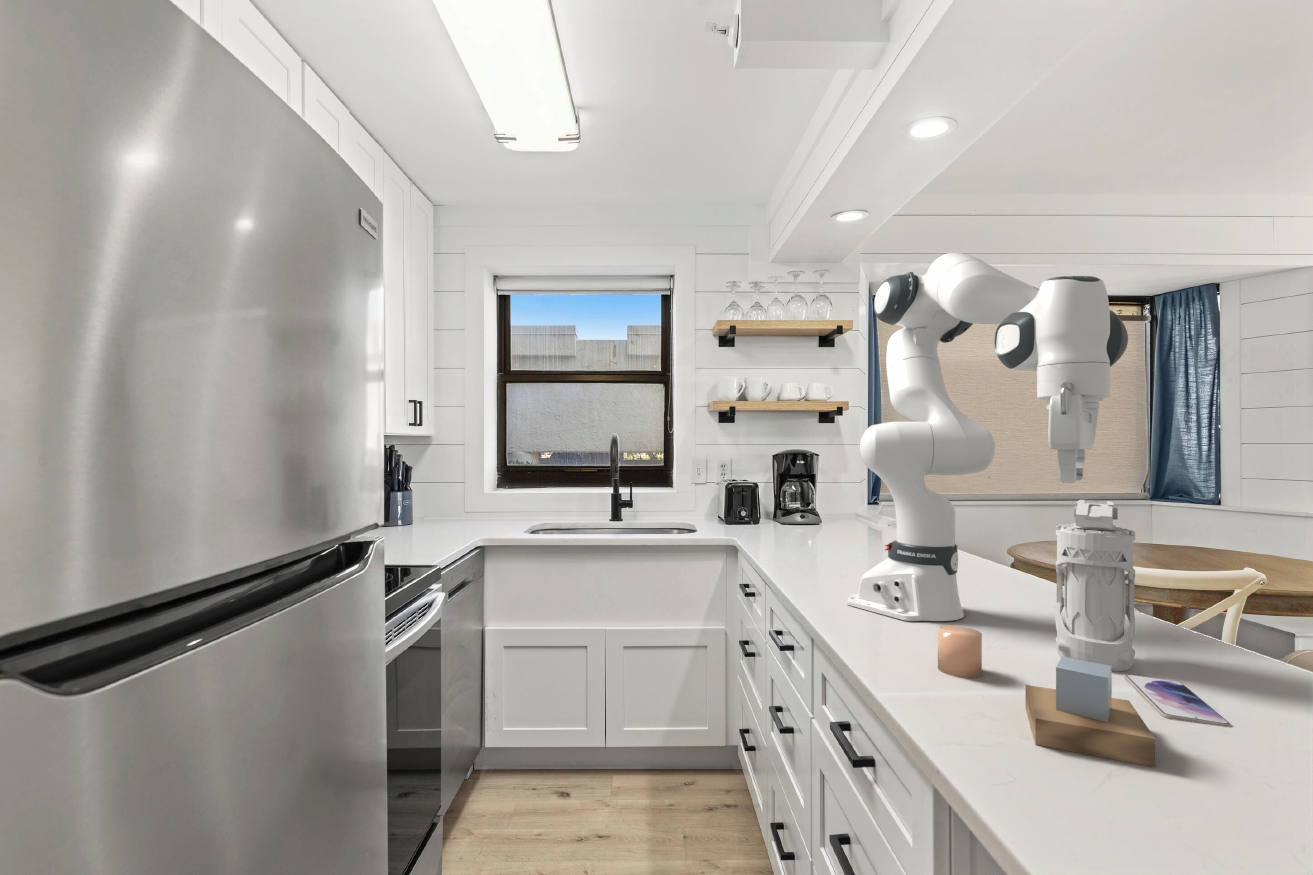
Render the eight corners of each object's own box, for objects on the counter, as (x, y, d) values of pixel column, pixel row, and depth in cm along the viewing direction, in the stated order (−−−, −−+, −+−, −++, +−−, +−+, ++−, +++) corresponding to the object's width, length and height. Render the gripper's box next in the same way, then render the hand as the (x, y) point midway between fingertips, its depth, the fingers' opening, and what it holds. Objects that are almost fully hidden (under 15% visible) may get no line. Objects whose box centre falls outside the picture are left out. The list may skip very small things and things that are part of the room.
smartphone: (1180, 681, 90) (1233, 725, 76) (1180, 686, 90) (1233, 732, 76) (1122, 673, 92) (1163, 714, 78) (1122, 678, 92) (1162, 720, 78)
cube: (1055, 709, 73) (1056, 667, 73) (1061, 696, 77) (1062, 656, 77) (1108, 722, 70) (1108, 677, 70) (1111, 707, 74) (1111, 665, 74)
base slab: (1035, 744, 71) (1035, 718, 71) (1025, 707, 81) (1025, 684, 81) (1155, 766, 66) (1155, 738, 66) (1129, 724, 76) (1129, 700, 76)
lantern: (1135, 677, 92) (1136, 508, 92) (1052, 661, 98) (1053, 504, 98) (1134, 653, 102) (1134, 502, 103) (1059, 641, 109) (1059, 498, 109)
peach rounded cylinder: (931, 670, 94) (931, 630, 94) (946, 661, 98) (946, 623, 98) (973, 681, 90) (973, 640, 90) (987, 671, 94) (987, 631, 94)
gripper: (1092, 378, 80) (1092, 485, 80) (1104, 390, 96) (1104, 479, 96) (1035, 381, 84) (1035, 483, 84) (1056, 392, 100) (1055, 477, 100)
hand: (1072, 481), depth 90 cm, fingers open, 8 cm apart
